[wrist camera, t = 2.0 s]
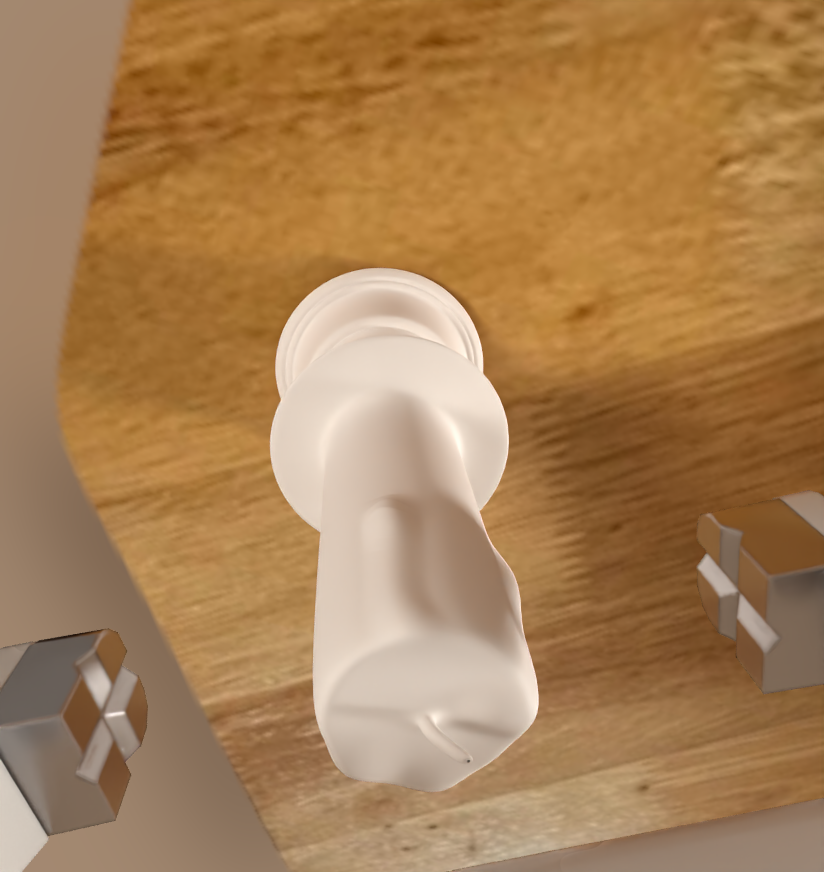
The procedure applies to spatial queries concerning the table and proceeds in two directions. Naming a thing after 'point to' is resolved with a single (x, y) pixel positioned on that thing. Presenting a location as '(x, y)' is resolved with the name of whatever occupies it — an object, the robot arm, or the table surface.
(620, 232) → the table surface
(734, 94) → the table surface
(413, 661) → the white turned post
